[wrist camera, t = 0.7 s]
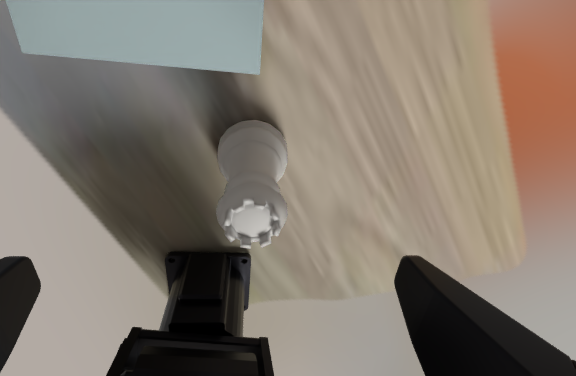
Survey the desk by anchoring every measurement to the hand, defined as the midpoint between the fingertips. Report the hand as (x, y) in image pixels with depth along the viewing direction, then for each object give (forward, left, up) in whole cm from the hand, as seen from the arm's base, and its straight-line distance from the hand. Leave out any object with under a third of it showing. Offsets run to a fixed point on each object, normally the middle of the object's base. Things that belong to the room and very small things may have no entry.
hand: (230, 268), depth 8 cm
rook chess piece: (-3, -1, -13) cm, 13 cm away
